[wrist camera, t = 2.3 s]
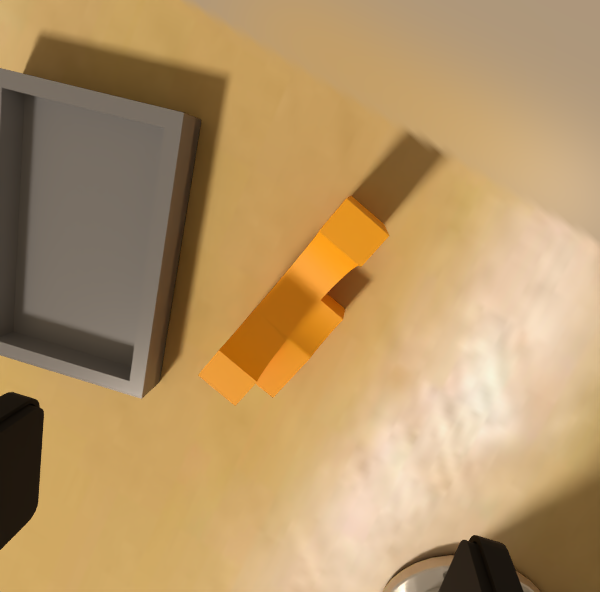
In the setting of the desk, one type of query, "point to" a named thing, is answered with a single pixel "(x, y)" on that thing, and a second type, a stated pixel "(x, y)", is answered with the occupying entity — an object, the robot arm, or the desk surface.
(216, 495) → the desk surface
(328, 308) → the orange blocky piece
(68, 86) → the parts tray
